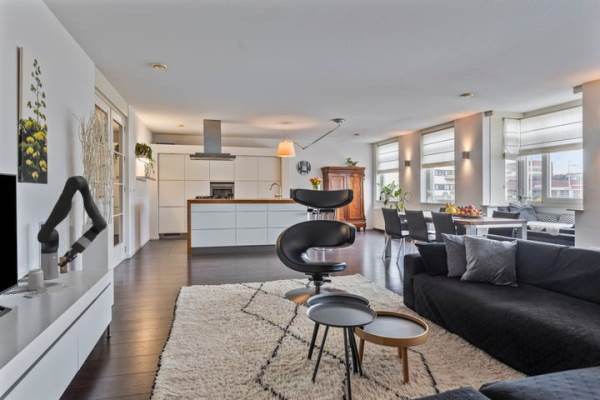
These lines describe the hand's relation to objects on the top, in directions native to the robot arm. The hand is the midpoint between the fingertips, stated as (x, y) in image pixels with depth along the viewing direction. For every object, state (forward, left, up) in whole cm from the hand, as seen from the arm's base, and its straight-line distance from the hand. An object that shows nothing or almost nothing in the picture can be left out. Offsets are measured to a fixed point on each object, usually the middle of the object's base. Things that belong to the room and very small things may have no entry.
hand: (60, 266), depth 222 cm
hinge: (+10, -11, -12) cm, 19 cm away
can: (-3, -12, -12) cm, 17 cm away
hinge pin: (0, +2, -5) cm, 5 cm away
